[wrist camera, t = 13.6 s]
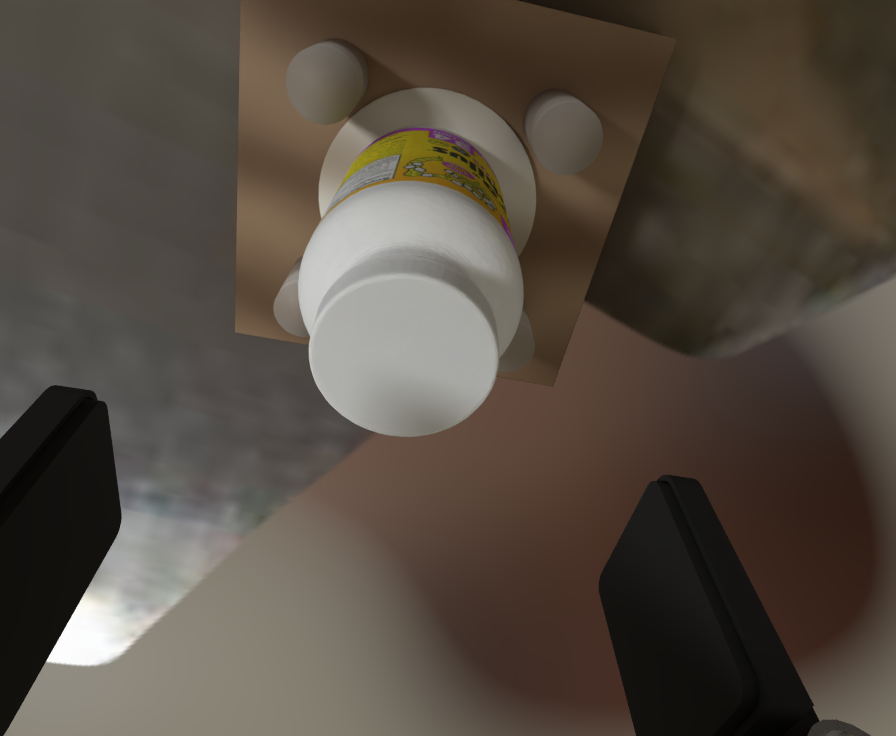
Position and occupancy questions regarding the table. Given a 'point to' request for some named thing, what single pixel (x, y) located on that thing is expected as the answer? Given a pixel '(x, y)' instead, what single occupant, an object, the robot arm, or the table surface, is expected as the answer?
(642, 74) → the stub board
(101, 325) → the table surface
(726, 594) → the robot arm
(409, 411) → the supplement bottle
